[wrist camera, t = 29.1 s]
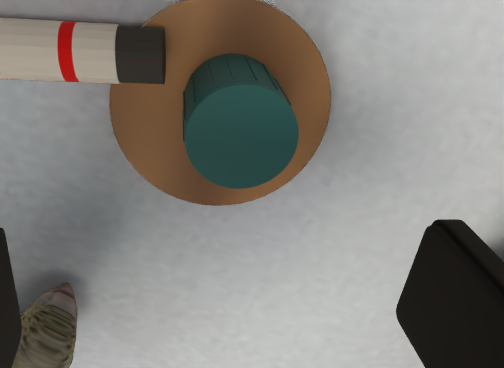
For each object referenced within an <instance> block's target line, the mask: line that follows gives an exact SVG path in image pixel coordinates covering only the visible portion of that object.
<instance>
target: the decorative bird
mask: <svg viewBox="0 0 504 368" xmlns="http://www.w3.org/2000/svg"><path fill="white" fill-rule="evenodd" d="M20 316H21V321H22V335H21V340H20V344H19V347H18V350H17V353H16V356H15V359H14V362H13V365H12V368H69V366H70V365H71V363H72V360H73V353H74V347H75V341H76V325H77V306H76V301H75V297H74V293H73V291H72V288H71V286H70V285H69V283H65V284H63V285H60V286H58V287H56V288H53V289H52V290H50V291H48V292H47V293H45V294H43V295H42V296H40V297H38V298H37V299H36V300H35V301H34V302H33V303H32V304H31V305H30V306H29V307H27V308H26V309H25V310H24V311H23V312H22V313H21V314H20Z"/></svg>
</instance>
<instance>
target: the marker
mask: <svg viewBox="0 0 504 368" xmlns="http://www.w3.org/2000/svg"><path fill="white" fill-rule="evenodd" d="M165 74H166V41H165V30H164V28H153V27H135V26H120V25H119V24H105V23H88V22H70V21H53V20H35V19H18V18H0V79H17V80H41V81H65V82H89V83H112V84H121V83H141V84H164V83H165Z"/></svg>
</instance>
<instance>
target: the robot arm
mask: <svg viewBox="0 0 504 368" xmlns="http://www.w3.org/2000/svg"><path fill="white" fill-rule="evenodd" d="M396 315H397V319H398V321H399V323H400V325H401V327H402V329H403V330H404V332H405V334H406V335H407V337H408V339H409V341H410V342H411V344H412V346H413V347H414V349H415V351H416V353H417V354H418V356H419V358H420V359H421V361H422V363H423V365H424V366H425V368H504V262H503V261H502V260H501V259H500V258H499V257H498V256H497V255H496V254H495V253H494V252H493V251H492V250H491V249H490V248H489V247H488V246H487V245H486V244H485V243H484V242H483V241H482V240H481V239H480V238H479V237H478V236H477V235H476V234H475V232H474V231H473V230H472V229H471V228H470V227H469V226H468V225H467V224H466V223H465V222H463V221H462V220H436V221H434V222H433V223H432V225H431V226H428V227H427V228H426V230H425V232H424V235H423V238H422V240H421V243H420V246H419V248H418V251H417V254H416V256H415V259H414V262H413V264H412V267H411V270H410V272H409V275H408V278H407V280H406V283H405V286H404V288H403V291H402V294H401V296H400V299H399V302H398V304H397V308H396ZM21 335H22V321H21V316H20V311H19V306H18V300H17V295H16V290H15V284H14V279H13V274H12V268H11V263H10V258H9V252H8V247H7V242H6V236H5V232H4V230H3V228H0V368H12V365H13V362H14V359H15V356H16V353H17V350H18V347H19V344H20V340H21Z"/></svg>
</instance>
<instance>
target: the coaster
mask: <svg viewBox="0 0 504 368" xmlns="http://www.w3.org/2000/svg"><path fill="white" fill-rule="evenodd" d="M141 27H153V28H164V30H165V41H166V74H165V83H164V84H141V83H121V84H112V83H111V89H110V105H109V107H110V116H111V122H112V126H113V130H114V134H115V136H116V139H117V141H118V144H119V146H120V148H121V150H122V151H123V153H124V155H125V156H126V158H127V159H128V161H129V162H130V163H131V165H132V166H133V167H134V169H135V170H136V171H137V172H138V173H139V174H140V175H141V176H142V177H143V178H145V179H146V180H147V181H148V182H150V183H151V184H152V185H154V186H155V187H157V188H158V189H160V190H162V191H163V192H165V193H167V194H169V195H171V196H174V197H176V198H178V199H182V200H185V201H188V202H192V203H197V204H202V205H215V206H216V205H232V204H239V203H244V202H248V201H252V200H255V199H257V198H260V197H263V196H265V195H267V194H269V193H271V192H273V191H275V190H277V189H278V188H280V187H281V186H283V185H285V184H286V183H287V182H289V181H290V180H291V179H292V178H293V177H295V176H296V175H297V174H298V173H299V172H300V171H301V170H302V169H303V168H304V167H305V166H306V164H307V163H308V162H309V160H310V159H311V158H312V156H313V155H314V153H315V151H316V150H317V148H318V146H319V144H320V142H321V140H322V138H323V135H324V133H325V130H326V126H327V123H328V119H329V112H330V85H329V78H328V74H327V71H326V67H325V64H324V62H323V60H322V57H321V55H320V53H319V51H318V49H317V48H316V46H315V44H314V43H313V41H312V40H311V39H310V37H309V36H308V35H307V34H306V32H305V31H304V30H303V29H302V28H301V27H300V26H299V25H298V24H297V23H296V22H294V21H293V20H292V19H291V18H290V17H289V16H287V15H286V14H285V13H283V12H282V11H280V10H279V9H277V8H275V7H273V6H271V5H269V4H267V3H265V2H263V1H260V0H182V1H179V2H177V3H174V4H172V5H170V6H168V7H166V8H165V9H163V10H161V11H159V12H158V13H156V14H155V15H154V16H153V17H151V18H150V19H149V20H148V21H146V22H145V23H144V24H143V25H142V26H141ZM225 54H240V55H247V56H248V57H251V58H253V59H255V60H257V61H259V62H260V63H261V64H264V65H265V66H266V68H267V69H268V70H269V72H270V73H271V74H272V76H273V77H274V78H276V79H277V81H278V83H279V84H280V86H281V88H282V89H283V91H284V93H285V94H286V96H287V98H288V99H289V101H290V103H291V104H292V106H291V108H292V110H293V112H294V114H295V116H296V119H297V122H298V127H299V138H298V144H297V148H296V151H295V154H294V156H293V158H292V160H291V161H290V163H289V164H288V165H287V167H286V168H285V169H284V170H283V171H282V172H281V173H280V174H279V175H278V176H276V177H275V178H273V179H272V180H270V181H268V182H266V183H264V184H262V185H259V186H256V187H252V188H246V189H231V188H226V187H222V186H219V185H216V184H214V183H212V182H210V181H208V180H207V179H205V178H204V177H203V176H201V175H200V174H199V173H198V172H197V171H196V170H195V168H194V167H193V165H192V164H191V162H190V160H189V158H188V156H187V153H186V149H185V143H183V112H182V110H183V91H185V87H186V85H187V82H188V80H189V78H190V77H191V74H193V72H194V71H195V70H196V69H197V68H198V67H199V66H200V65H202V64H203V63H204V62H206V61H207V60H209V59H211V58H214V57H216V56H220V55H225Z"/></svg>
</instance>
